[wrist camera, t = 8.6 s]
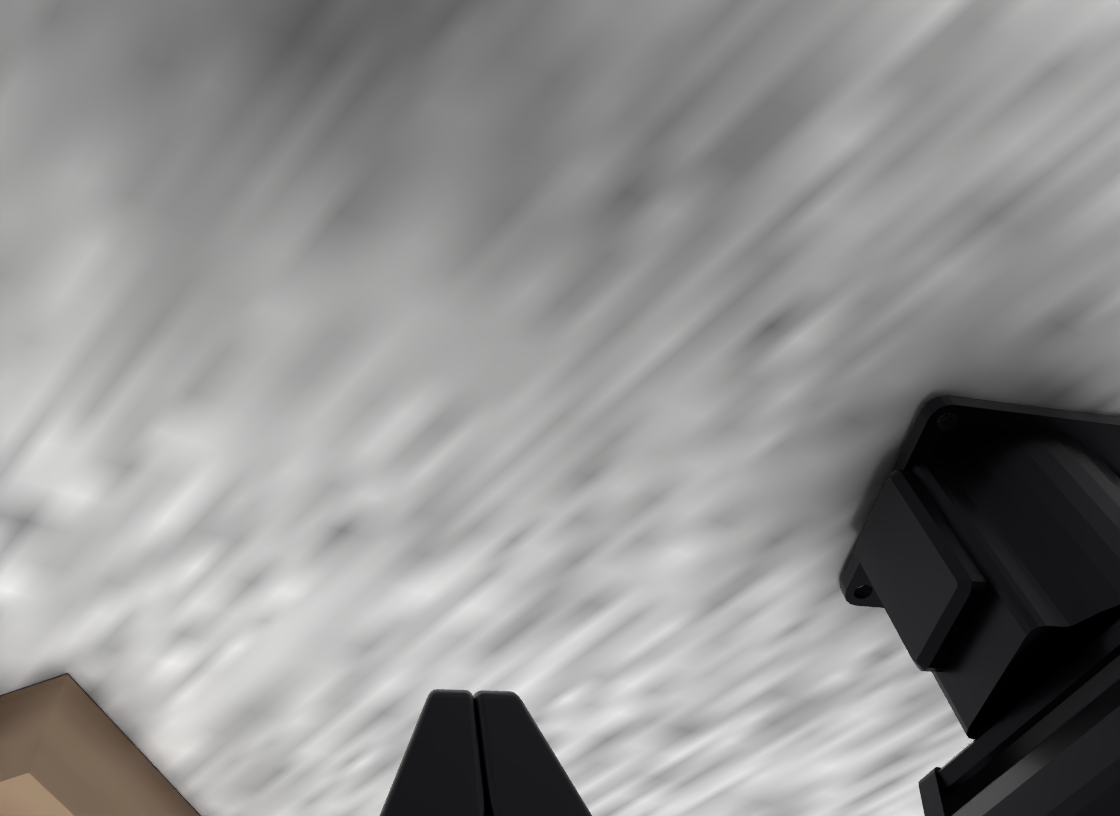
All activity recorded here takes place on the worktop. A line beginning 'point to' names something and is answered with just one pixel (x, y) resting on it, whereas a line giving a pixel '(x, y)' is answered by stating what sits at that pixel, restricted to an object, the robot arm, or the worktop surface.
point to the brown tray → (74, 759)
